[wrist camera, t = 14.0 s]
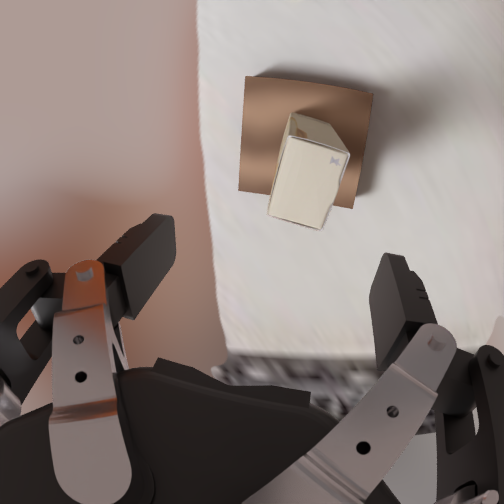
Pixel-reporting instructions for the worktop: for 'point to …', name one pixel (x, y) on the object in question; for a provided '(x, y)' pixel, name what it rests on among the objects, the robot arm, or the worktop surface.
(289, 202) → the skincare box
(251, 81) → the walnut block
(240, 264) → the worktop surface
